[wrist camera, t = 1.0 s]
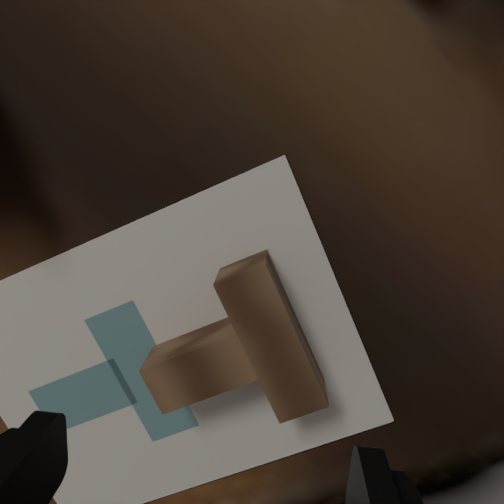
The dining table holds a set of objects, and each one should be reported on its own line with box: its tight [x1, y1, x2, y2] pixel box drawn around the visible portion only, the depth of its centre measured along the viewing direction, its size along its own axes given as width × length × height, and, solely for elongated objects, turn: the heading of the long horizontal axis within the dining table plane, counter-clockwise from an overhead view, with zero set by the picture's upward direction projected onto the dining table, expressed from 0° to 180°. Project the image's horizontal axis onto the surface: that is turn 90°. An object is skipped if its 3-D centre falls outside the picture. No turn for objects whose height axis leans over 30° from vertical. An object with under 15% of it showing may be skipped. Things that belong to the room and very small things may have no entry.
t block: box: [139, 249, 329, 424], centre depth 34 cm, size 12×12×4 cm
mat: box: [0, 155, 394, 504], centre depth 37 cm, size 32×24×1 cm
